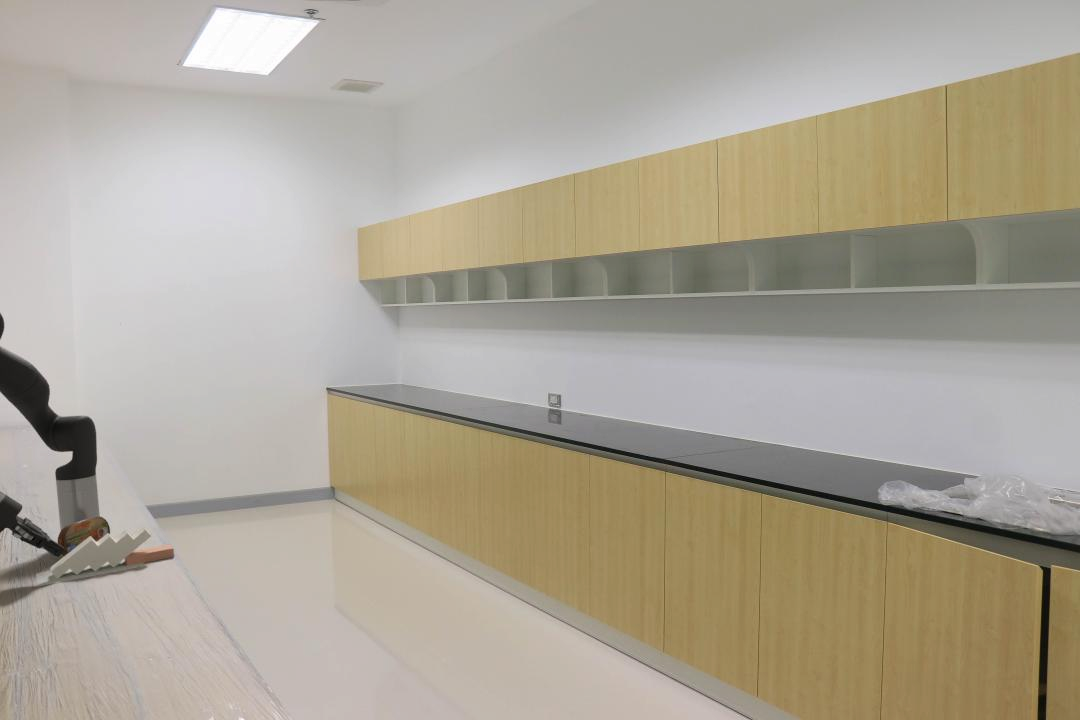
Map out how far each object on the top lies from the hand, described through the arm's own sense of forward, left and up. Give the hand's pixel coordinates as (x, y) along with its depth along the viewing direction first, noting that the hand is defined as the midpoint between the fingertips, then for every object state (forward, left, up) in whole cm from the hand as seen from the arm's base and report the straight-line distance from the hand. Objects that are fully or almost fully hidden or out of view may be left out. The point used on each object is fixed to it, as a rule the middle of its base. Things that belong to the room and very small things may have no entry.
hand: (61, 552), depth 184 cm
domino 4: (0, +9, -4) cm, 10 cm away
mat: (0, +5, -5) cm, 8 cm away
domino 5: (0, +12, -4) cm, 13 cm away
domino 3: (0, +5, -4) cm, 7 cm away
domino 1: (0, -2, -4) cm, 5 cm away
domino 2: (0, +2, -4) cm, 5 cm away
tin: (-20, +5, -6) cm, 21 cm away
